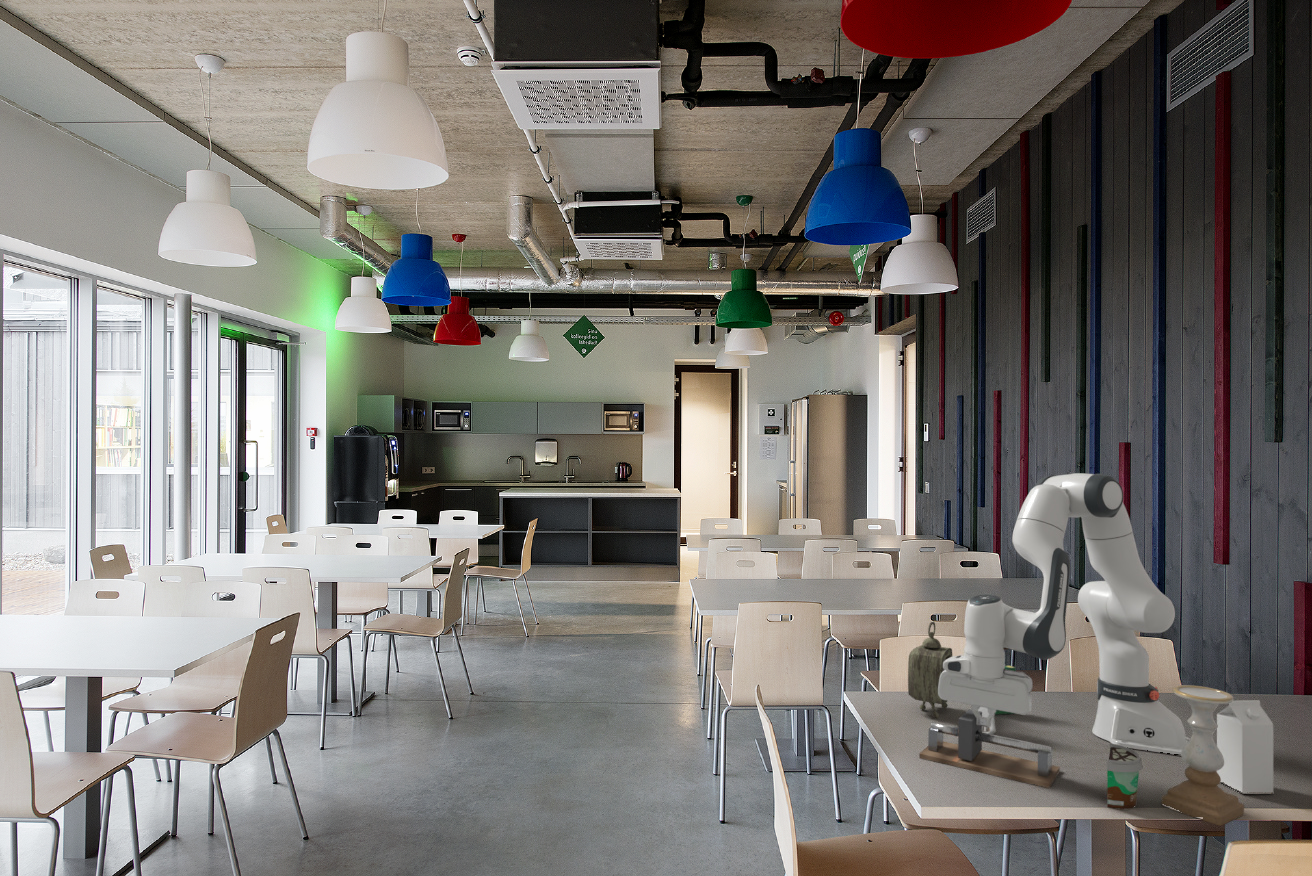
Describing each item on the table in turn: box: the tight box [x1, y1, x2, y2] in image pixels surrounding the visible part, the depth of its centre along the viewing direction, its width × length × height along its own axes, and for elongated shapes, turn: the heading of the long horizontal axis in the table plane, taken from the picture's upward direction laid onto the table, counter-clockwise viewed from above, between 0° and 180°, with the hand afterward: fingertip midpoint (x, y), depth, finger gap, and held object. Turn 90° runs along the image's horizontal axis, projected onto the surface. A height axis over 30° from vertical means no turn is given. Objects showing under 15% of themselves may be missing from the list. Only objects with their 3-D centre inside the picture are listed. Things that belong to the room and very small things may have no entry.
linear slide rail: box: [927, 721, 1053, 777], centre depth 186 cm, size 26×5×6 cm, turn 54°
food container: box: [1106, 742, 1144, 810], centre depth 166 cm, size 12×6×10 cm, turn 148°
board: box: [918, 740, 1061, 789], centre depth 186 cm, size 28×12×1 cm, turn 54°
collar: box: [957, 708, 983, 761], centre depth 188 cm, size 3×9×9 cm, turn 144°
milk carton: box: [1216, 699, 1274, 793], centre depth 175 cm, size 7×7×19 cm
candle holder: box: [1161, 684, 1245, 827], centre depth 163 cm, size 11×11×24 cm
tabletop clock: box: [907, 621, 953, 719], centre depth 225 cm, size 14×9×25 cm, turn 148°
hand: (983, 725), depth 186 cm, fingers closed
